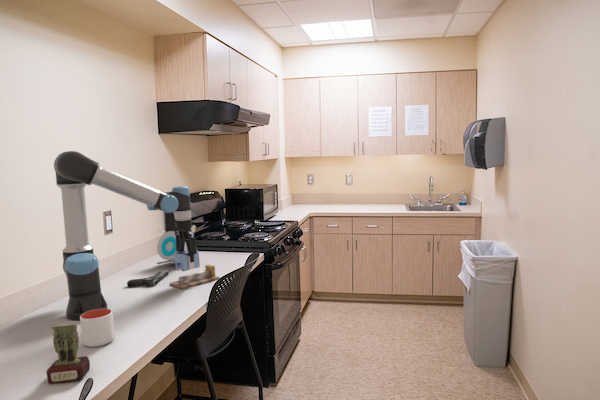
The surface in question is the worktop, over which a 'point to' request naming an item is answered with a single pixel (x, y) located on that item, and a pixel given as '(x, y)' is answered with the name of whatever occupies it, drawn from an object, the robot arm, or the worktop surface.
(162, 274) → the handgun
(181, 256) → the slate grey block
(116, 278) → the worktop surface
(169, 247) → the satellite
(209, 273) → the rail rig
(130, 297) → the worktop surface
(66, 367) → the sculpture
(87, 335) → the cup
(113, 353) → the worktop surface
